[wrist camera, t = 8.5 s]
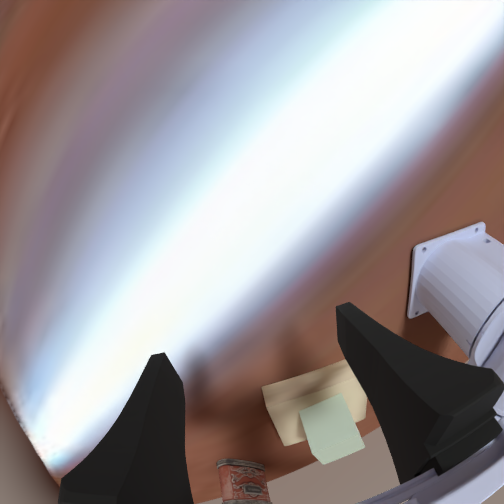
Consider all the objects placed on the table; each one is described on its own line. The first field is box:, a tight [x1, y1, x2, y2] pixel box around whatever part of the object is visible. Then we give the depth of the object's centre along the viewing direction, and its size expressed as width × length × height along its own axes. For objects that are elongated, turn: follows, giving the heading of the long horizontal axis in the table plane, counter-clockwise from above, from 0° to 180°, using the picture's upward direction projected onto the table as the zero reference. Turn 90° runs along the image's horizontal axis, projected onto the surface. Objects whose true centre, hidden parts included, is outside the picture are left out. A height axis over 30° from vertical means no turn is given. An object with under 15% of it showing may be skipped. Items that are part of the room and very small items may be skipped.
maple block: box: [261, 359, 367, 446], centre depth 29 cm, size 10×10×3 cm
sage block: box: [299, 393, 365, 465], centre depth 25 cm, size 4×4×5 cm
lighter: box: [217, 459, 272, 504], centre depth 32 cm, size 8×3×10 cm, turn 50°
